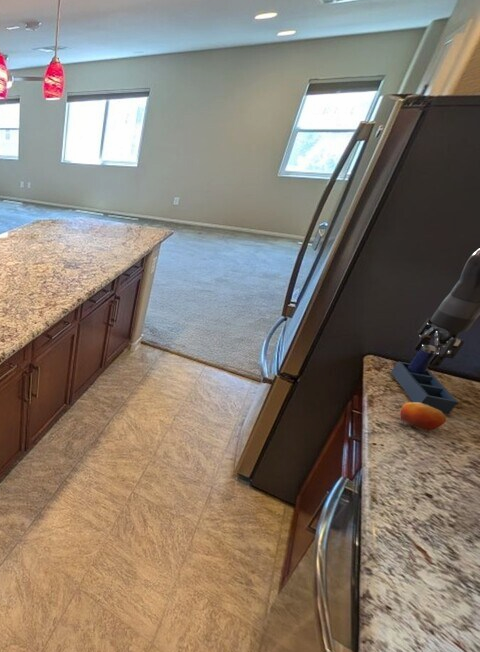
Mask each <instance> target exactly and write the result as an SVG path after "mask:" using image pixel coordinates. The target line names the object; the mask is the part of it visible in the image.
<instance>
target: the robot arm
mask: <svg viewBox="0 0 480 652" xmlns="http://www.w3.org/2000/svg"><path fill="white" fill-rule="evenodd" d="M479 317H480V248H478V249H476V250H475V251H474V252H473V253H472V254H471V255H470V256H469V257H468V259H467V261H466V263H465V265H464V267H463V269H462V271H461V274H460V277H459V280H458V281H457V282H456V283H455V285H454V286H453V287H452V289H451V290H450V292H449V294H448V295H447V296H446V297H445V298H444V299H443V301H442V302H441V303H440V305H439V306H438V308H437V309H436V310H435V312H434V313H433V315H432V316H431V317H429V318H426V320H425V321H424V323H422V325H421V327H420V328H419V329H418V331H417V335H419V336H418V337H419V340H418V342H417V343H416V344H415V346H414V347H413V349H414V351H418V352H419V350H420V349H421V346H422V345H431V344H430V343H431V341H433V342H434V343H433V346H434V347H435V348H436V351H435V354H434V355H433V356H432V358H431V359H430V360H429V362H428V364H429V366H432V367H439V366H440V365H442V363H443V361H444V360H445V359H446V358H447V359H454V358H455V357H456V355H457V354H458V353H459V351H460V349H461V348H462V346H463V345H464V343H465V340H464V339H459V338H458V335H459V334H460V333H463V332H468V331H469V329H471V327H472V325H473V324H474V323H475V322H476V320H477V319H478V318H479Z"/></svg>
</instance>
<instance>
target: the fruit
mask: <svg viewBox="0 0 480 652" xmlns="http://www.w3.org/2000/svg"><path fill="white" fill-rule="evenodd" d="M399 413H400V415H399V416H400V420H401V421H402V423H403V425H404V426H410V427H413V428H417V429H418V430H419V431H421V432H422V433H423V434H425V432H430V431H433V430H436V429H438V428H440V427H441V426H443V425H444V424H445V423H446V422H447V416H446V414H445V413H443V412H442V411H440V410H438V409H436V408H433V407H430V406H429V405H426V404H423V403H419V402H413V401H411V402H410V401H409V402H405V403H404V404H403V405H402V406H401V409H400V412H399Z"/></svg>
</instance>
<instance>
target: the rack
mask: <svg viewBox="0 0 480 652" xmlns="http://www.w3.org/2000/svg"><path fill="white" fill-rule="evenodd" d="M410 363H411V362H410ZM410 363H409V362H404V361H397V362H396V364H395V365H394V367H393V368H392V369H391V371H390V373H391V375H392V376H393V377H394V379H395V380H396V381H397V383H398V384H399V385H400V387H401V388H402V390H403V391H404V392H405V393H406V394H407V396H408V397H409V399H410V400H411V402H419V403H423V404H426V405H429V406H430V407H433V408H436V409H438V410H440V411H442V412H443V414H445V415H449V414H450V413H451V412H452V411H453V409H454V408H455V407H456V406H457V405H458V404H459V402H458V400H457V399H456V397H454V396H453V395H452V394H451V393H450V391H449V390H448V389H447V388H446V387H445V386H444V385H443V384H442V383H441V381H440V380H439V379H438V378H437V377H436V376H435V375H434V374H433V373H432V372H431V371H430V370H429V368H427V369H426V370H425V372H424V373H423V374H417V373H411V372H409V371H408V370H407V367H408V366H409V364H410Z"/></svg>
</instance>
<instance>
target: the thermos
mask: <svg viewBox="0 0 480 652" xmlns="http://www.w3.org/2000/svg"><path fill="white" fill-rule="evenodd" d="M435 351H436V348H435V347H434V345H431V344H429V345H422V346H421V349H420V350H419V351H418V352H417V353H416V355H415V356H414V357H413V359H412V360H411V362H410V364H409V366H408V367H407V370H408V371H409V372H411V373H417V374H423V373H424V372H425V370H426V369H427V368H428V367H430V365H429V364H428V362H429V360H430V359H431V358H432V356H433V355H434V354H435ZM428 369H429V368H428Z"/></svg>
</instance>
